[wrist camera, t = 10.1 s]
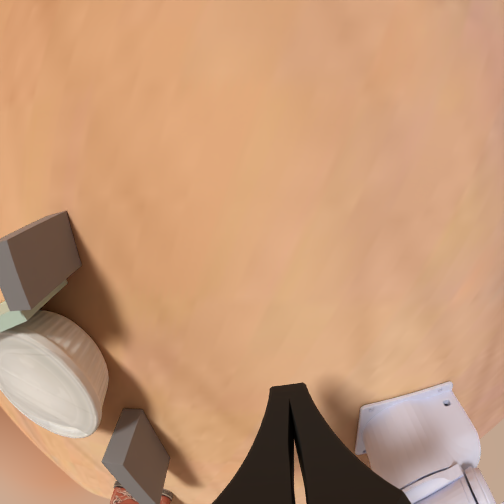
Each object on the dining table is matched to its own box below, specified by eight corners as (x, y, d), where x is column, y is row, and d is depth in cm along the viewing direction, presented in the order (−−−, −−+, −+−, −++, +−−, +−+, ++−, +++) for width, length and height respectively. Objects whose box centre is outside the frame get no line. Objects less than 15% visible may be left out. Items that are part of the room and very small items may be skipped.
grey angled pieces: (66, 210, 19) (6, 240, 13) (170, 457, 27) (159, 507, 21) (45, 216, 19) (-14, 246, 13) (152, 456, 27) (140, 504, 21)
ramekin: (44, 393, 25) (23, 427, 20) (0, 298, 21) (-35, 327, 16) (136, 404, 25) (120, 448, 20) (94, 295, 21) (60, 334, 16)
